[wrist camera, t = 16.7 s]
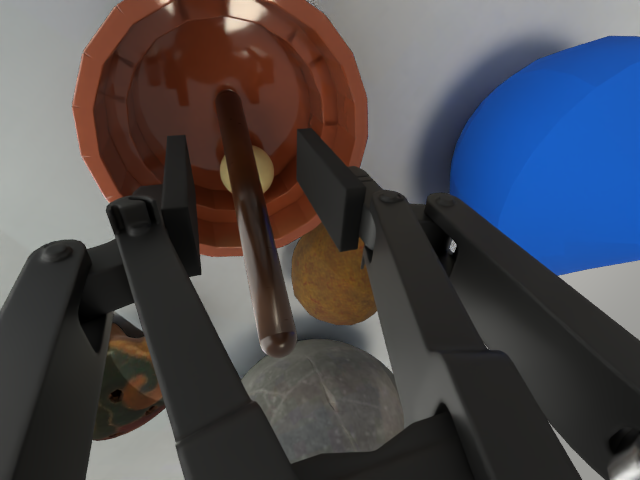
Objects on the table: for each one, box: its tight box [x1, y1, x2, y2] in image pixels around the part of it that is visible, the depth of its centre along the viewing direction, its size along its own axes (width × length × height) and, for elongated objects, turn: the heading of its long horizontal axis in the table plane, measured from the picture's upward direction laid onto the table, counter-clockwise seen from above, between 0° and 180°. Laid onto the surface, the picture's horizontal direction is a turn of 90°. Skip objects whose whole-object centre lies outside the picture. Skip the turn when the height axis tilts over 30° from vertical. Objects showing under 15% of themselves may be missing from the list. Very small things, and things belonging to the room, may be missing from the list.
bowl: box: [241, 339, 404, 464], centre depth 36 cm, size 20×20×15 cm
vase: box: [450, 36, 640, 276], centre depth 25 cm, size 18×18×19 cm
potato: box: [291, 222, 377, 325], centre depth 29 cm, size 8×12×9 cm
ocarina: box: [92, 323, 166, 441], centre depth 29 cm, size 10×15×8 cm, turn 117°
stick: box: [215, 90, 297, 358], centre depth 18 cm, size 2×2×17 cm
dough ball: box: [220, 145, 274, 193], centre depth 23 cm, size 4×4×4 cm
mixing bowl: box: [72, 0, 368, 257], centre depth 21 cm, size 15×15×6 cm
